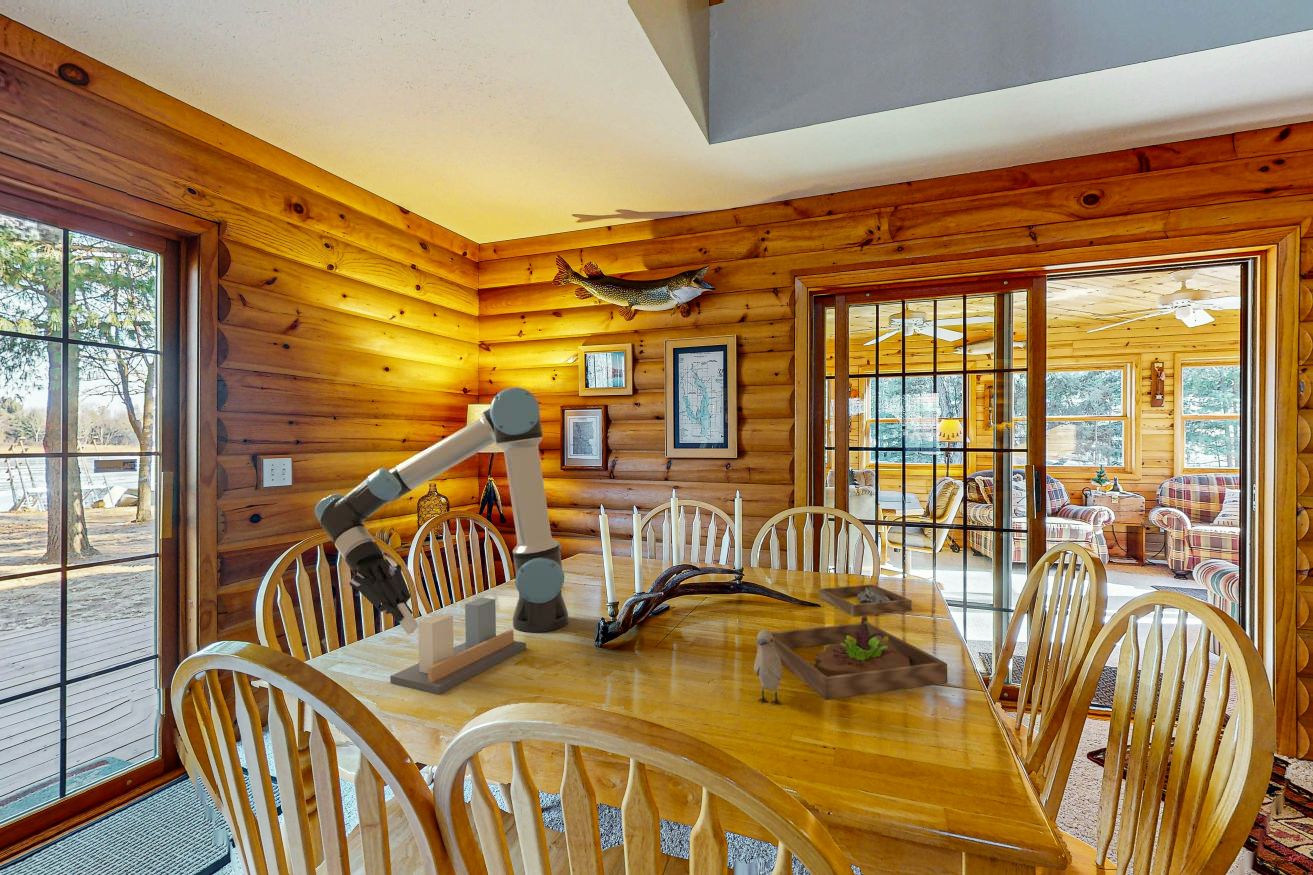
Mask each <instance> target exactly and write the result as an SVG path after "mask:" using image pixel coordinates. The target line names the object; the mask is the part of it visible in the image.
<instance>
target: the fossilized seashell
mask: <svg viewBox="0 0 1313 875" xmlns="http://www.w3.org/2000/svg"><path fill="white" fill-rule="evenodd" d="M856 601H857V602H859V603H860V604H865V603H875V602H886V601H891V600H890V599H889V598H888V597H886V596H885V595H884V594H882V593H881V592H880V591H878V590H877V589H875V588H874V587H871V586H870V588H868V587H866V588H865V591H863V592H860V593H859V594H858V596H856Z"/></svg>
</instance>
